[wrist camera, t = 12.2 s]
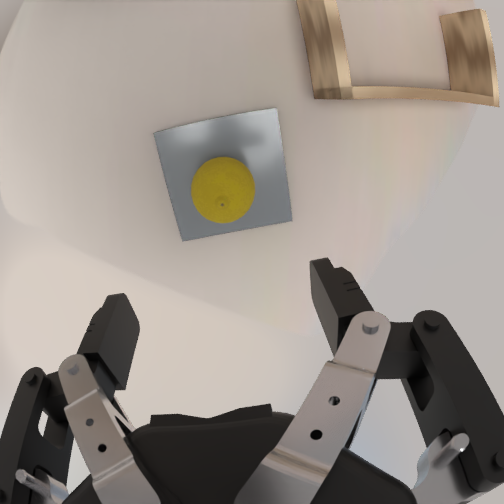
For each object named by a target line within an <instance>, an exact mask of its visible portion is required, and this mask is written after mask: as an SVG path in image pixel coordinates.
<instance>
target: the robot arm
mask: <svg viewBox="0 0 504 504" xmlns="http://www.w3.org/2000/svg"><path fill="white" fill-rule="evenodd" d="M310 280H311V294H312V300H313V303H314V306H315V309H316V311H317V314H318V317H319V319H320V322H321V324H322V327H323V330H324V332H325V335H326V337H327V340H328V343H329V345H330V348H331V350H332V353H333V355H334V359H333V360H332V361H327V362H326V363H325V365H324V367H323V368H322V370H321V372H320V374H319V376H318V378H317V380H316V381H315V383H314V385H313V387H312V389H311V390H310V392H309V394H308V395H307V397H306V399H305V401H304V402H303V404H302V406H301V407H300V409H299V411H298V413H297V414H296V416H294V415H291V414H288V413H282V412H272V408H271V404H265V405H259V406H252V407H245V408H239V409H236V410H233V411H230V412H227V413H224V414H221V415H218V416H215V417H212V418H200V417H194V416H188V415H182V414H164V415H151V420H150V424H147V425H144V426H141V427H139V428H137V429H135V428H134V426H133V425H132V423H131V422H130V420H129V418H128V417H127V415H126V414H125V412H124V410H123V408H122V407H121V405H120V403H119V402H118V400H117V398H116V397H115V396H114V393H115V390H125V389H126V385H127V380H128V376H129V372H130V368H131V363H132V359H133V355H134V351H135V348H136V343H137V340H138V336H139V332H140V326H139V321H138V319H137V317H136V315H135V312H134V310H133V308H132V306H131V304H130V302H129V300H128V298H127V296H126V295H125V294H124V293H120V294H114V295H108V296H107V298H106V300H105V302H104V304H103V306H102V308H100V309H99V310H98V311H97V312H96V313H95V314H94V315H93V317H92V319H91V321H90V326H88V328H87V330H86V331H87V332H86V333H85V335H84V337H83V340H82V342H81V344H80V347H79V349H78V352H77V354H75V355H72V356H69V357H68V358H66V359H65V360H64V361H63V362H62V363H61V365H60V367H59V370H58V371H57V372H54V373H51V374H48V375H46V374H45V373H44V371H43V370H42V369H41V368H39V367H34V368H31V369H29V370H28V371H27V372H26V373H25V374H24V375H23V376H22V378H21V381H20V383H19V386H18V388H17V391H16V393H15V396H14V399H13V401H12V404H11V407H10V410H9V413H8V416H7V419H6V422H5V425H4V428H3V431H2V435H1V438H0V504H466V503H468V502H470V501H472V500H474V499H476V498H478V497H480V496H482V495H484V494H485V493H487V492H489V491H491V490H492V489H494V488H496V487H497V486H499V485H501V484H502V483H504V415H503V413H502V411H501V409H500V407H499V405H498V403H497V401H496V399H495V398H494V395H493V393H492V392H491V390H490V388H489V386H488V384H487V383H486V381H485V379H484V377H483V375H482V374H481V372H480V370H479V369H478V367H477V365H476V363H475V362H474V360H473V358H472V357H471V355H470V354H469V352H468V351H467V349H466V347H465V346H464V344H463V342H462V341H461V339H460V338H459V336H458V335H457V333H456V332H455V330H454V329H453V327H452V326H451V324H450V323H449V321H448V320H447V318H446V317H445V316H444V315H442V314H441V313H439V312H436V311H433V310H425V311H421V312H419V313H418V314H416V316H415V317H414V319H413V322H403V323H402V322H401V323H398V322H397V323H396V322H390V321H389V319H388V318H387V317H386V316H384V315H383V314H381V313H379V312H375V311H374V310H373V308H372V306H371V304H370V303H369V302H368V300H367V298H366V296H365V295H364V293H363V291H362V290H361V289H360V287H359V285H358V283H357V282H356V280H355V279H354V277H353V275H352V274H351V273H350V272H349V271H347V270H346V269H344V268H343V267H339V268H334V267H333V265H332V264H331V262H330V260H329V259H328V258H322V259H317V260H312V261H310ZM378 379H401V381H402V384H403V386H404V389H405V391H406V393H407V396H408V399H409V401H410V403H411V406H412V409H413V411H414V414H415V416H416V419H417V422H418V424H419V427H420V430H421V432H422V435H423V438H424V441H425V444H426V447H427V449H426V450H425V451H424V452H423V454H422V455H421V456H420V458H419V460H418V463H417V471H418V478H417V482H416V484H415V486H414V488H413V489H411V490H410V488H409V487H408V486H407V485H405V484H404V483H403V482H401V481H400V480H398V479H396V478H394V477H393V476H391V475H389V474H387V473H385V472H384V471H382V470H381V469H379V468H377V467H376V466H374V465H372V464H371V463H369V462H368V461H366V460H364V459H363V458H361V457H360V456H358V455H356V454H355V453H353V452H351V451H350V450H349V449H350V447H351V445H352V443H353V440H354V438H355V436H356V434H357V432H358V429H359V427H360V424H361V421H362V419H363V416H364V414H365V411H366V409H367V406H368V404H369V401H370V399H371V397H372V394H373V391H374V388H375V386H376V383H377V380H378ZM42 411H44V412H45V413H46V414H47V415H48V420H47V423H46V427H45V431H44V435H43V437H42V435H41V434H40V432H39V429H38V424H39V420H40V417H41V413H42ZM74 437H75V440H76V442H77V444H78V447H79V449H80V452H81V454H82V456H83V458H84V460H85V463H86V465H87V467H88V469H89V471H90V473H91V474H90V475H89V476H88V477H87V478H86V479H85V480H84V481H83V482H82V483H81V484H80V485H79V486H78V487H77V488H76V489H75V490H74V491H73V492H72V493H71V494H70V495H69V494H68V490H67V488H66V483H67V476H68V469H69V462H70V457H71V450H72V445H73V440H74Z"/></svg>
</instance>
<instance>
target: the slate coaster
mask: <svg viewBox="0 0 504 504" xmlns="http://www.w3.org/2000/svg"><path fill="white" fill-rule="evenodd" d="M154 137H155V141H156V145H157V149H158V154H159V158H160V162H161V165H162V169H163V173H164V177H165V181H166V185H167V188H168V192H169V196H170V199H171V203H172V206H173V210H174V214H175V217H176V221H177V224H178V227H179V231H180V234H181V238H182V241H188V240H193V239H198V238H203V237H208V236H213V235H219V234H224V233H229V232H235V231H240V230H245V229H251V228H256V227H262V226H267V225H273V224H278V223H284V222H289V221H292V213H291V205H290V197H289V189H288V181H287V174H286V167H285V159H284V152H283V146H282V139H281V132H280V126H279V119H278V113H277V108H271V109H264V110H258V111H251V112H245V113H239V114H234V115H228V116H223V117H218V118H213V119H208V120H204V121H199V122H195V123H190V124H186V125H182V126H178V127H174V128H170V129H166V130H162V131H159V132H155V133H154ZM217 157H230V158H234V159H236V160H238V161H240V162H242V163H243V164H244V165H245V166H246V167H247V168H248V169H249V171H250V172H251V174H252V176H253V179H254V182H255V196H254V200H253V203H252V205H251V207H250V209H249V210H248V211H247V212H246V213H245V214H244V216H242V217H241V218H239V219H238V220H235V221H233V222H230V223H216V222H213V221H210V220H208V219H206V218H205V217H203V216H202V215H201V214H200V213H199V212H198V211H197V209H196V207H195V205H194V204H193V200H192V196H191V184H192V180H193V177H194V175H195V173H196V172H197V170H198V169H199V168H200V167H201V166H202V165H203V164H204V163H205V162H207V161H209V160H211V159H213V158H217Z"/></svg>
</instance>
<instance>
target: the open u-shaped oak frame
mask: <svg viewBox="0 0 504 504" xmlns="http://www.w3.org/2000/svg"><path fill="white" fill-rule="evenodd" d="M296 1H297V5H298V10H299V14H300V19H301V24H302V29H303V34H304V39H305V44H306V50H307V55H308V61H309V67H310V73H311V79H312V85H313V92H314V98H315V99H366V98H406V99H430V100H445V101H456V102H466V103H474V104H482V105H489V106H495V107H499V94H498V82H497V72H496V63H495V56H494V50H493V43H492V38H491V33H490V28H489V23H488V19H487V15H486V11H484V10H482V9H474V10H468V11H462V12H457V13H452V14H447V15H442V16H439V17H440V21H441V26H442V31H443V36H444V42H445V48H446V54H447V61H448V68H449V77H450V87H451V91H450V90H440V89H429V88H414V87H389V86H356V87H352V85H351V78H350V71H349V65H348V58H347V53H346V47H345V41H344V36H343V31H342V26H341V21H340V17H339V12H338V8H337V3H336V0H296Z"/></svg>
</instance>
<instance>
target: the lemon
mask: <svg viewBox="0 0 504 504" xmlns="http://www.w3.org/2000/svg"><path fill="white" fill-rule="evenodd" d="M191 196H192V200H193V204H194V205H195V207H196V209H197V211H198V212H199V213H200V214H201V215H202V216H203V217H205V218H206V219H208V220H210V221H213V222H216V223H230V222H233V221H235V220H238V219H239V218H241V217H242V216H244V214H245V213H246V212H247V211H248V210H249V209H250V207H251V205H252V203H253V200H254V196H255V182H254V179H253V176H252V174H251V172H250V171H249V169H248V168H247V167H246V166H245V165H244V164H243V163H242V162H240V161H238V160H236V159H234V158H230V157H217V158H213V159H211V160H209V161H207V162H205V163H204V164H203V165H202V166H201V167H200V168H199V169H198V170H197V172H196V173H195V175H194V177H193V180H192V184H191Z"/></svg>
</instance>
